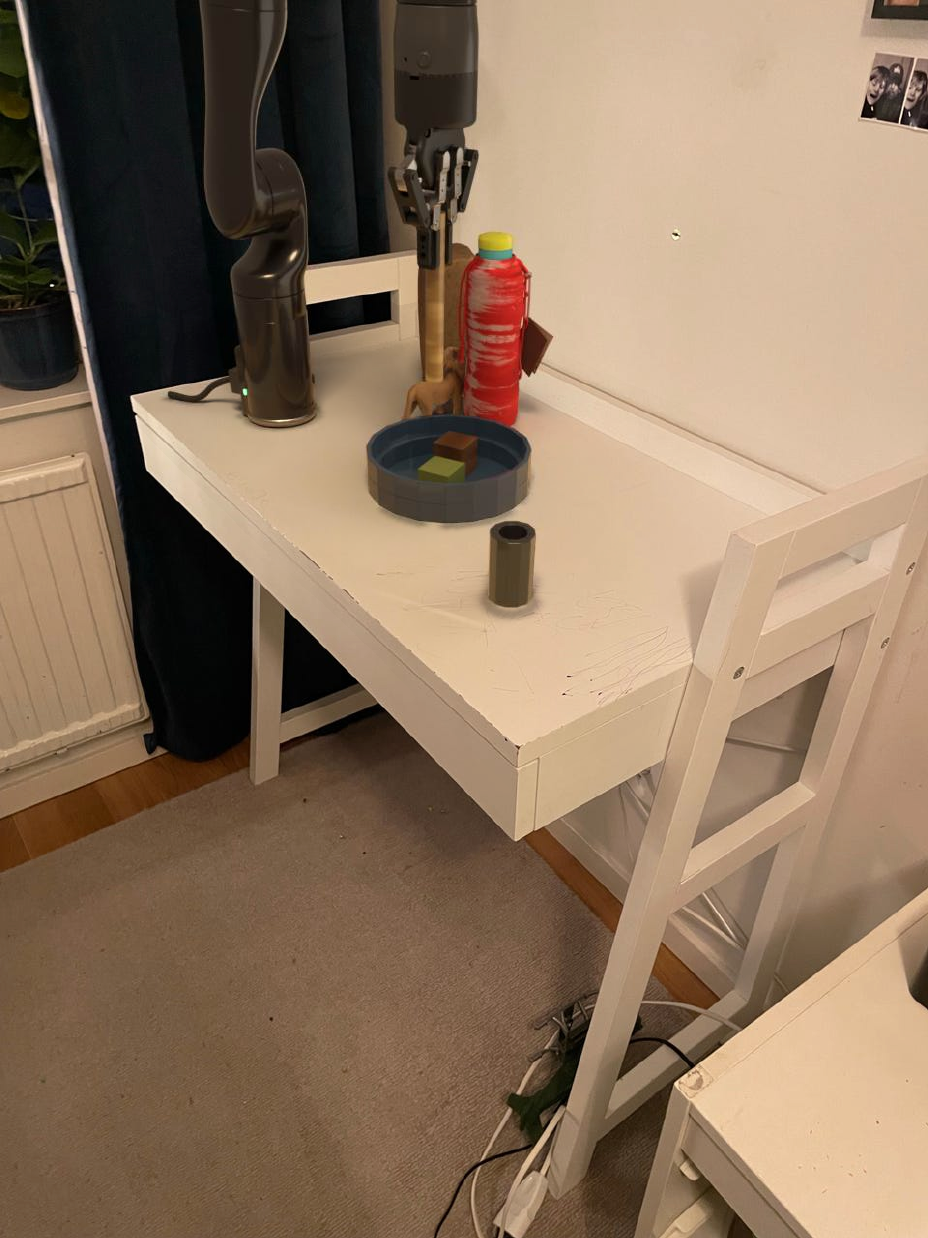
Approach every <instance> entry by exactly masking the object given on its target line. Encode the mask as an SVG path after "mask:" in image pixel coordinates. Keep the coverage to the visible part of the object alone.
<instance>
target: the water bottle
mask: <svg viewBox="0 0 928 1238" xmlns="http://www.w3.org/2000/svg"><path fill="white" fill-rule="evenodd" d="M514 241H515V240H514V236H513V235H512V234H510V233H508V232H502V231H486V232H484V233H480V234H479V235H478V238H477V247H478V249H477V250H478V252H476V253H474V255H475V256H474V259H473V260H472V261H471V262H470V263H468V264H467V266H466V268H465V270H464V272H463V276H462V279H461V285H460V297H459V309H458V325H459V337H460V340H461V345H460V347H459V351H458V361H461V363H464V357H463V350H464V347H465V346H466V367H465V379H464V391H463V397H462V399H463V413H464V414H463V415H469V416H478V417H482V418H486V419H491V420H495V421H498V422H501V423H503V424H506V425H508V426H510V427H512V426H513V425H514V423H515V421H516V418H517V416H518V413H519V403H520V402H519V401H520V381H521V380H522V379H523V372H524V374H525V375H526V376H527V377H528V378H530V377H531V375H532V374H534V375H535V374H536V373H537V371H538V368H539V367H540V365H541V363H542V361H543V358H544V356H545V354H546V352H547V350H548V348H549V347H550V345H551V342H552V341H553V338H554V335H553V334H551V333H550V332H549V331H548V330H546V329H545V328H544V327H542V326H541V325H540V324H539V323H538V322H536V321H535V320H534V319H532V317H530V308H531V289H532V288H531V287H532V280H531V279H532V277H533V276H532V275H533V272H531V271H529V270H528V268H527V267H526V265H524V263H523V261H522V259H520V258H518V257H517V255H516V254H515V253H514V252H513V248H514ZM466 272H467V273H466ZM465 274H466V281H465V294H464V313H463V330H462V336H461V301H462V289H463V281H464V278H465ZM465 325H466V345H465V343H464V335H465Z"/></svg>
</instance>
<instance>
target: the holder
mask: <svg viewBox="0 0 928 1238" xmlns="http://www.w3.org/2000/svg"><path fill="white" fill-rule="evenodd" d="M536 539H537V534H536V529H535V528H534V527H533V526H532V525H530V524H529V523H527V522H523V521H519V520H505V521H500V522H497V523H495V524H494V525H493V526H491V528H490V529H489V547H488V548H489V550H488V551H489V553H488V581H487V585H488V586H487V595H488V600H490V601H491V602H492V603H493V604H494V605H495V606H499V607H502V608H511V609H512V608H520V607H523V606H526V605H528V604H529V603H530V602H531V600H532V599H533V589H534V573H535V558H536V557H535V555H536V554H535V553H536V542H537V540H536Z"/></svg>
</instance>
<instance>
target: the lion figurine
mask: <svg viewBox="0 0 928 1238" xmlns="http://www.w3.org/2000/svg"><path fill="white" fill-rule="evenodd" d="M458 351H459V348H458V347H447V348H446V350H445V351H443V381H441V382H439V383H430V382H427V381H425V382H423V381H418V382H415V383H413V384H412V385H411V386H410V388H409V389H408V390H407V395H406V403H405V408H404V412H403V415H402V417H401V418H400V421H401V420H404V419H409V418H411V416H412V414H413V413H414V411H415V410H416V408H417V406H418V408H419V410H420V412H421V415H422V416H425V415H433V412H434V407H436V411H435V412H436V414H437V415H441V414H445V407H444V404H446V403H448V401H450V400H451V401H452V406H453V407H452V408H453V409H452V414H457V415H461V413H460V410H461V405H462V397H461V393H462V392H463V391H464V379H465V367H466V356H465V355H464V353H463V357H464V363H461V361H458Z"/></svg>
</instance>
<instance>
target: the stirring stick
mask: <svg viewBox="0 0 928 1238" xmlns="http://www.w3.org/2000/svg"><path fill="white" fill-rule="evenodd" d="M428 211H429V214H430V209H428ZM438 230H440V266H439V267H438V268H437V269H435V270H429V269H426V296H425V380H426V381H427V382H430V383H439V382H441V381H443V345H444V273H445V211H443V210H440V226H439V229H438Z"/></svg>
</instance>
